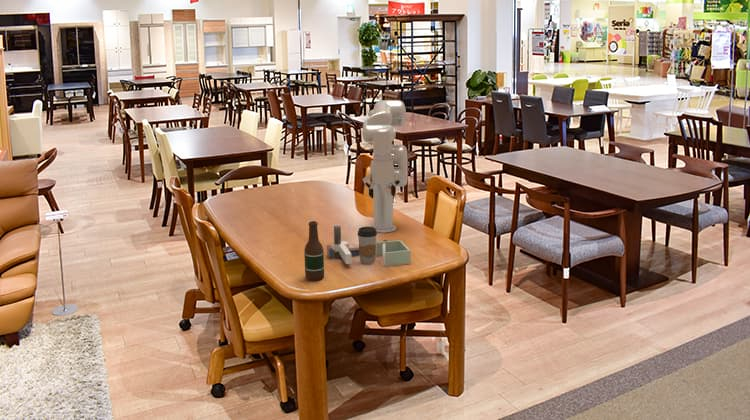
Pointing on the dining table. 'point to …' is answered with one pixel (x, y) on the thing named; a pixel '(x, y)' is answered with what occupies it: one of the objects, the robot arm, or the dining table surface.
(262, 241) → the dining table surface
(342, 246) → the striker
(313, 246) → the beer bottle
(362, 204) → the dining table surface
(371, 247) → the coffee cup
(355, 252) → the rail
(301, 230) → the dining table surface
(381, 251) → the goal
